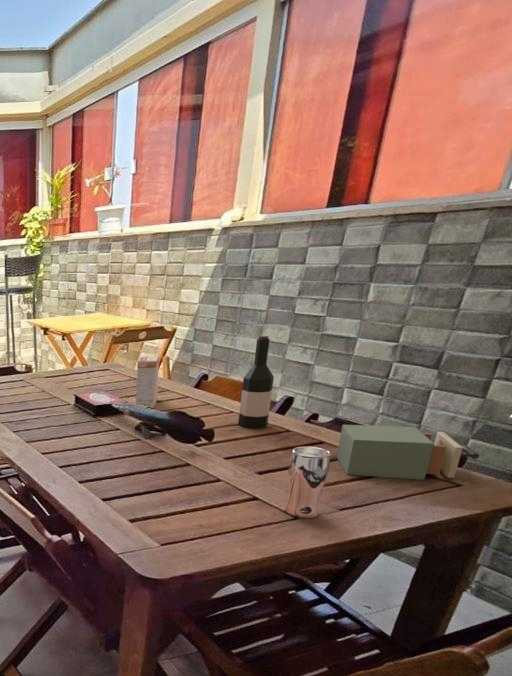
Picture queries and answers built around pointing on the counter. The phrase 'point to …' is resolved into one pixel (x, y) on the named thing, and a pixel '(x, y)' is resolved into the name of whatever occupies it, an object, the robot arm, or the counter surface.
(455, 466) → the drawer
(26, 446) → the counter surface
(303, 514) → the beer glass
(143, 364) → the coffeecake box
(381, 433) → the cabinet
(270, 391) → the wine bottle
